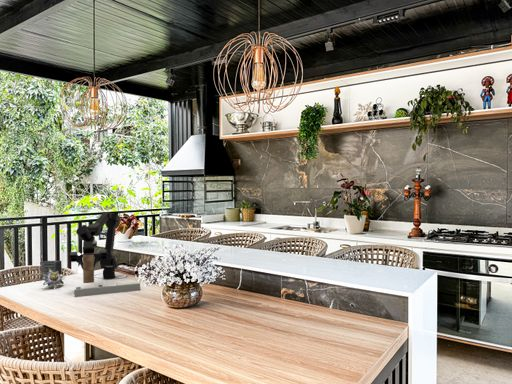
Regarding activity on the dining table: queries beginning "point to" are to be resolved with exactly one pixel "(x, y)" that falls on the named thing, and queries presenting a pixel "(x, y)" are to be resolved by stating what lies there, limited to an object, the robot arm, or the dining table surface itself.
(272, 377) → the dining table surface
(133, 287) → the tray
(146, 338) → the dining table surface
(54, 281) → the passion flower
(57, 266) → the small box
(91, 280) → the walnut block
